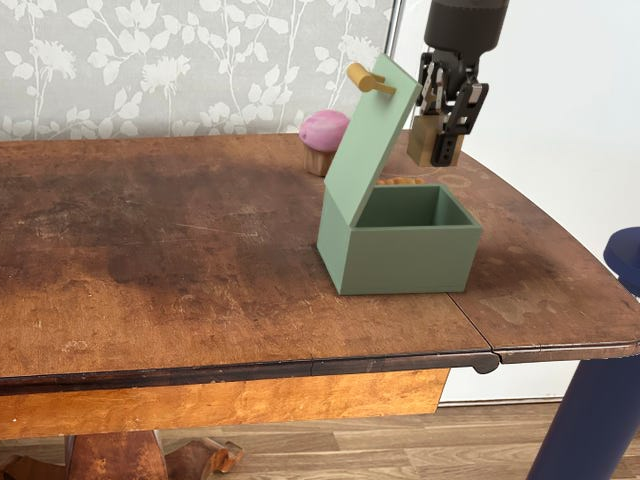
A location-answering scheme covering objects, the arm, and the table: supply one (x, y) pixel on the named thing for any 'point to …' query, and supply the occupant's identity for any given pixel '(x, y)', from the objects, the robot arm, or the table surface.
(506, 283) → the table surface
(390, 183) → the pastry
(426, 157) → the block
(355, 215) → the lid
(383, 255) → the chest
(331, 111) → the cupcake
